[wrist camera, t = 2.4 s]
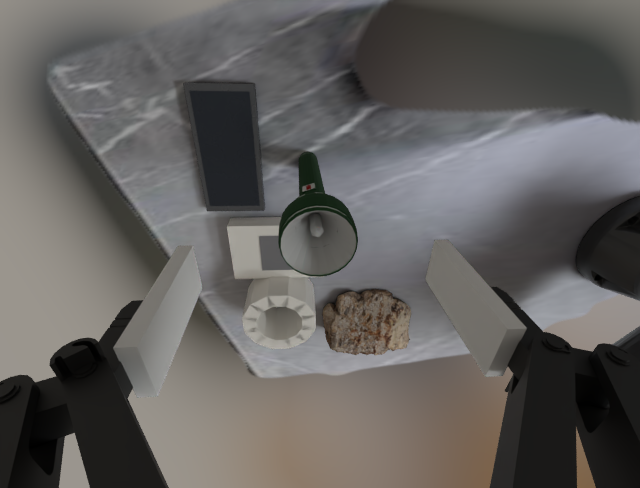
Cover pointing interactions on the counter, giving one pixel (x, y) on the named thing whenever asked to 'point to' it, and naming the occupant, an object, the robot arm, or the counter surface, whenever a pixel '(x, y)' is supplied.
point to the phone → (227, 144)
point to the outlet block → (270, 285)
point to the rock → (366, 323)
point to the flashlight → (316, 226)
